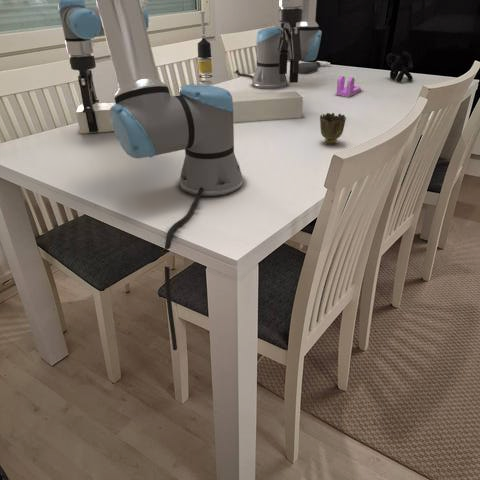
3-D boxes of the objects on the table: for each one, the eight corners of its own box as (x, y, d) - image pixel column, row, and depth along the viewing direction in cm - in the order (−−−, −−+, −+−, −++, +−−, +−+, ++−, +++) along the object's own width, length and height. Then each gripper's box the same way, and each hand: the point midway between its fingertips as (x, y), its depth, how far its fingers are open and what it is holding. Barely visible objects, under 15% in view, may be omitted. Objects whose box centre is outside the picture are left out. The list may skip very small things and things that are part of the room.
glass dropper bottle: (214, 91, 188) (211, 12, 172) (202, 93, 186) (197, 13, 170) (210, 88, 192) (206, 11, 176) (198, 90, 190) (193, 11, 175)
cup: (314, 144, 132) (316, 118, 127) (322, 137, 137) (324, 111, 133) (339, 148, 129) (341, 121, 124) (346, 140, 134) (349, 114, 130)
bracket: (349, 96, 177) (351, 78, 174) (336, 94, 180) (337, 76, 177) (362, 90, 186) (364, 72, 182) (350, 88, 189) (352, 71, 185)
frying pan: (288, 71, 219) (314, 64, 235) (307, 74, 213) (332, 66, 229) (288, 65, 217) (314, 58, 233) (307, 68, 211) (333, 60, 228)
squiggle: (400, 92, 202) (376, 71, 205) (417, 76, 202) (392, 56, 205) (405, 81, 191) (380, 59, 194) (423, 64, 191) (397, 42, 194)
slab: (80, 133, 145) (76, 112, 141) (83, 125, 152) (79, 104, 148) (301, 117, 155) (302, 97, 152) (294, 110, 163) (295, 91, 159)
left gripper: (90, 60, 128) (104, 136, 140) (96, 48, 146) (108, 117, 158) (63, 62, 127) (79, 138, 139) (73, 49, 145) (87, 118, 157)
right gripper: (314, 11, 131) (309, 85, 142) (291, 4, 151) (288, 70, 163) (289, 12, 129) (287, 87, 141) (269, 5, 150) (268, 71, 162)
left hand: (95, 127), depth 149 cm, fingers closed on slab, 9 cm apart
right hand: (287, 78), depth 152 cm, fingers open, 13 cm apart
